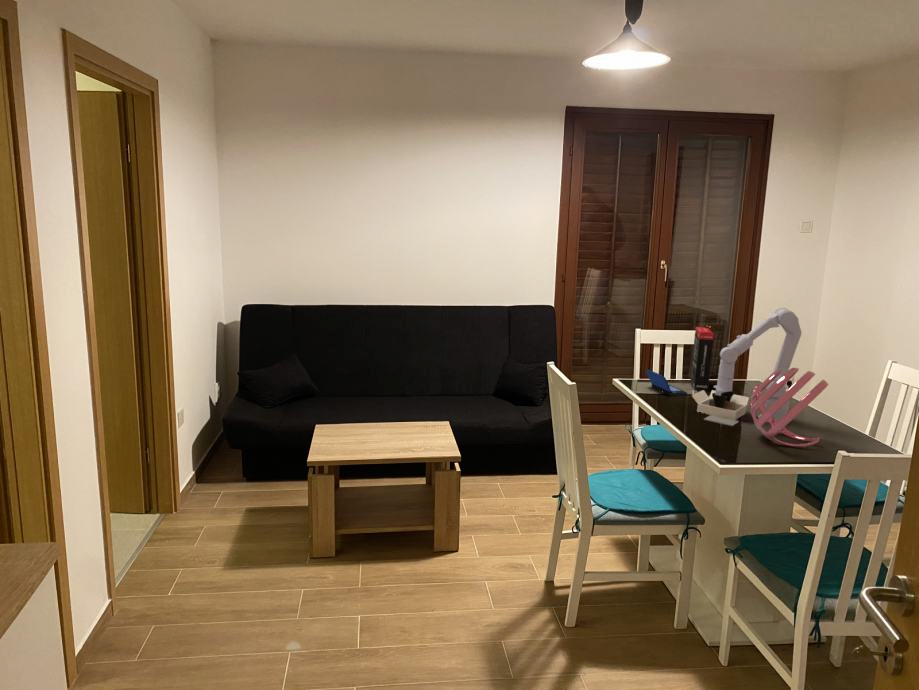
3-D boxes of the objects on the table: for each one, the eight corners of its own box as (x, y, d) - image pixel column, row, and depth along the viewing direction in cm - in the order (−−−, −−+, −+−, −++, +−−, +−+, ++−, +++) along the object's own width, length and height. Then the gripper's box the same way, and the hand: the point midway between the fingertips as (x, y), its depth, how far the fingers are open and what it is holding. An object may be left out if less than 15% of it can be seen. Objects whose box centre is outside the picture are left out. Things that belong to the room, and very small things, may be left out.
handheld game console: (688, 396, 304) (690, 375, 302) (661, 396, 300) (664, 376, 298) (668, 387, 318) (670, 367, 317) (642, 387, 315) (645, 368, 313)
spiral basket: (867, 395, 237) (802, 342, 247) (838, 428, 219) (769, 369, 229) (813, 441, 256) (755, 390, 266) (783, 474, 238) (722, 418, 248)
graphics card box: (708, 391, 312) (716, 333, 307) (692, 390, 314) (699, 331, 309) (703, 383, 329) (710, 327, 324) (688, 381, 330) (694, 326, 325)
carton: (754, 414, 279) (756, 398, 278) (742, 422, 267) (744, 406, 265) (703, 403, 292) (705, 388, 291) (689, 410, 279) (691, 395, 278)
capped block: (733, 414, 277) (735, 402, 276) (730, 416, 274) (732, 404, 273) (711, 409, 282) (713, 397, 281) (708, 411, 279) (709, 399, 278)
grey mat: (738, 422, 266) (739, 421, 266) (732, 426, 260) (732, 425, 260) (710, 415, 273) (710, 414, 273) (703, 419, 267) (703, 418, 266)
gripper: (721, 372, 283) (717, 404, 286) (709, 377, 272) (705, 410, 275) (739, 375, 279) (734, 407, 281) (727, 381, 268) (723, 414, 270)
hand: (721, 409), depth 278 cm, fingers open, 7 cm apart
